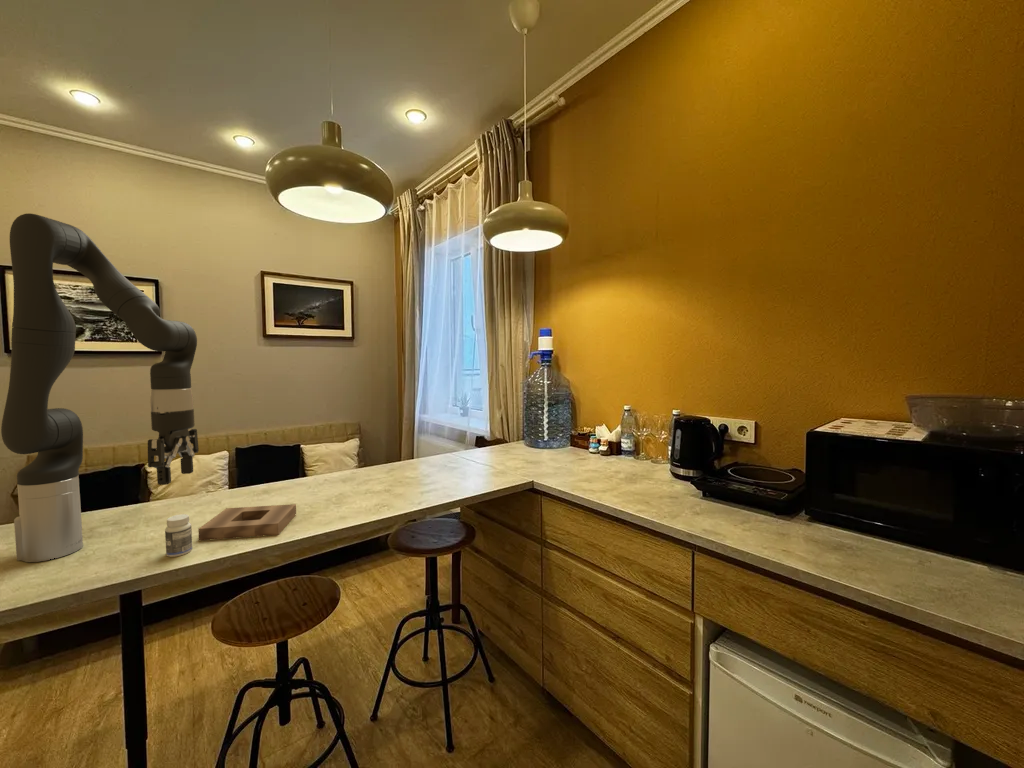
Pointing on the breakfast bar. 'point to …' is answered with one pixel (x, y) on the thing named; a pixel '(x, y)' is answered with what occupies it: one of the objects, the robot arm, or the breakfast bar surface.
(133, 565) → the breakfast bar surface
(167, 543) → the pill bottle
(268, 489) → the breakfast bar surface
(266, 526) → the socket block
